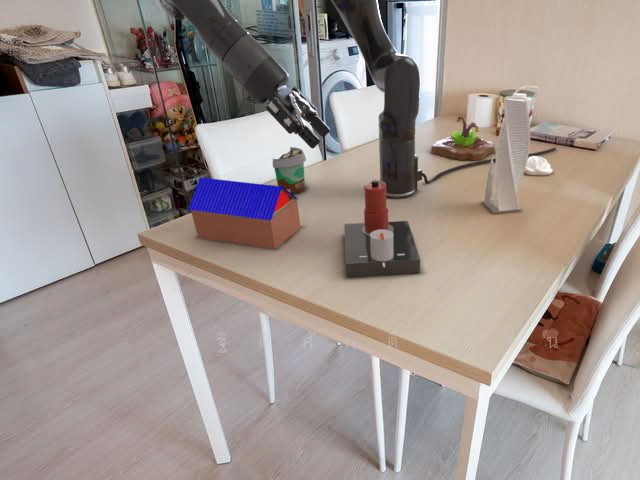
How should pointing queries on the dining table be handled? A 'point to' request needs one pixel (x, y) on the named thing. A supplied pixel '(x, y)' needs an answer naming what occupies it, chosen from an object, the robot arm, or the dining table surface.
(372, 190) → the red cylindrical canister
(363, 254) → the hob
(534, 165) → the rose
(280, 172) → the food container
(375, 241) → the hob knob
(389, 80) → the robot arm
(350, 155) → the dining table surface
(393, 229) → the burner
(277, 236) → the house
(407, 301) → the dining table surface
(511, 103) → the skyscraper
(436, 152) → the plant
